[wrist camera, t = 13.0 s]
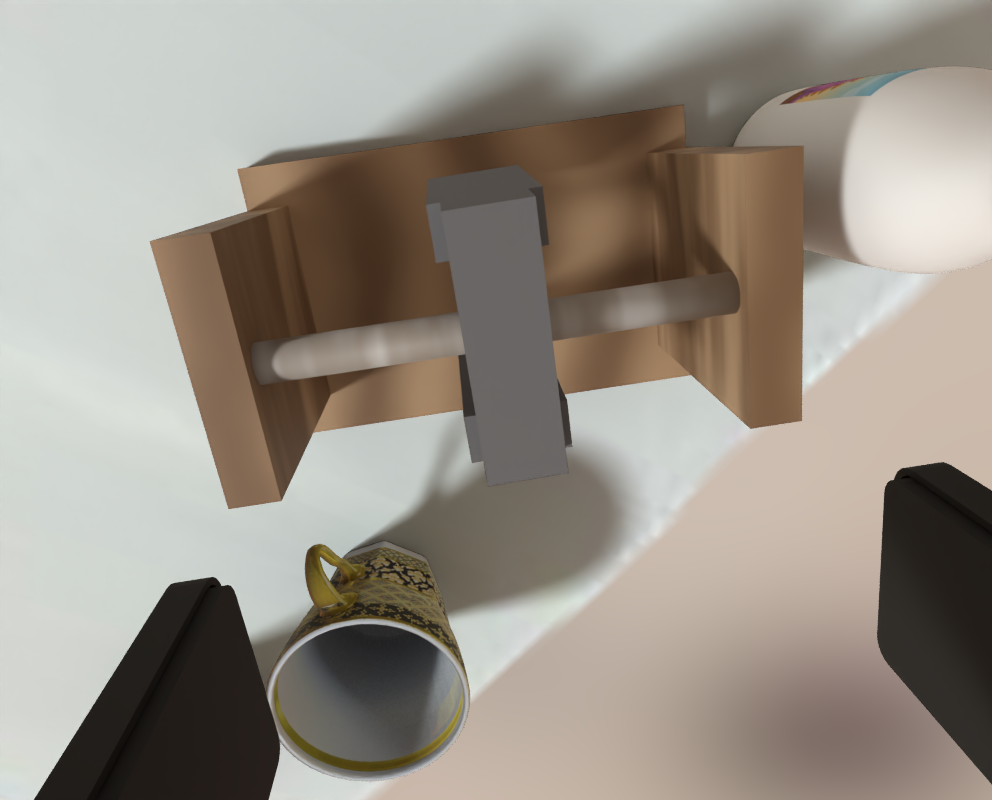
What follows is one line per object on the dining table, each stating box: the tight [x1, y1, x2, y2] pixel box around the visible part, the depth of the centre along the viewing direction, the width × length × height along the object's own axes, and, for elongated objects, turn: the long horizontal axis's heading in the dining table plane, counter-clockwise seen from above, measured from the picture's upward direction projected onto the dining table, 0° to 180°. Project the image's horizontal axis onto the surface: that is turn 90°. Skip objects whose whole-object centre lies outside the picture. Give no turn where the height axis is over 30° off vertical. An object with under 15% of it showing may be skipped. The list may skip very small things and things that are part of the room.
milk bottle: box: [733, 66, 992, 274], centre depth 29 cm, size 8×8×20 cm
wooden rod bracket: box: [150, 105, 804, 509], centre depth 32 cm, size 22×14×14 cm, turn 98°
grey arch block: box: [426, 165, 572, 486], centre depth 29 cm, size 10×4×10 cm, turn 9°
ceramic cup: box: [266, 541, 470, 781], centre depth 40 cm, size 13×10×10 cm
